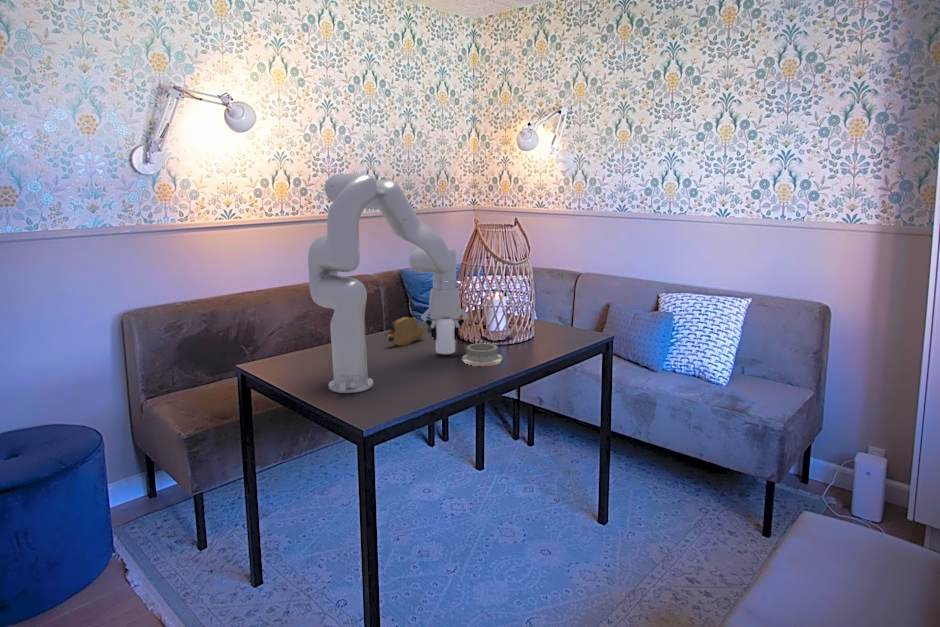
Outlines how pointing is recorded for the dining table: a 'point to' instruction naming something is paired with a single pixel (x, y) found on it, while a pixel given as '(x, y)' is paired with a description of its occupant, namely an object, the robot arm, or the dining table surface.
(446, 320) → the can
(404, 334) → the wooden carving
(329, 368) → the dining table surface
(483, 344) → the cup holder
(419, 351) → the dining table surface
